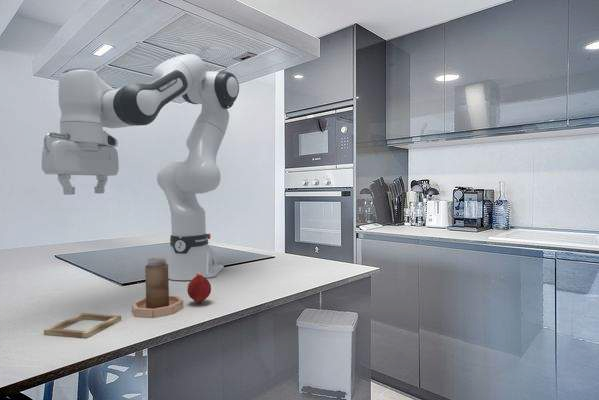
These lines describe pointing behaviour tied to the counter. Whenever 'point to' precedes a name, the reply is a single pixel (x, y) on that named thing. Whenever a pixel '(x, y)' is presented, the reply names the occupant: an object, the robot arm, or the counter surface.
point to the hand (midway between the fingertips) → (85, 194)
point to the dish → (142, 311)
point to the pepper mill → (157, 283)
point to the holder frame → (58, 330)
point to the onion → (199, 288)
